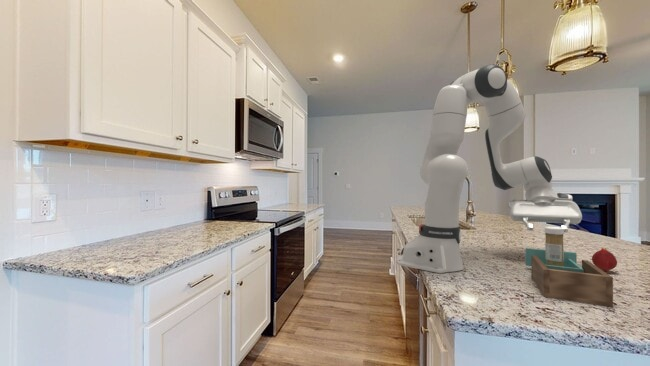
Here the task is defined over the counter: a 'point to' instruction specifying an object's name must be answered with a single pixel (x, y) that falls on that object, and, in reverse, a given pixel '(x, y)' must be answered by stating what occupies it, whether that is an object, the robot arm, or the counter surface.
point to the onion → (604, 260)
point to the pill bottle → (554, 246)
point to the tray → (569, 265)
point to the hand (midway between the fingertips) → (547, 230)
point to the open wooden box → (574, 283)
